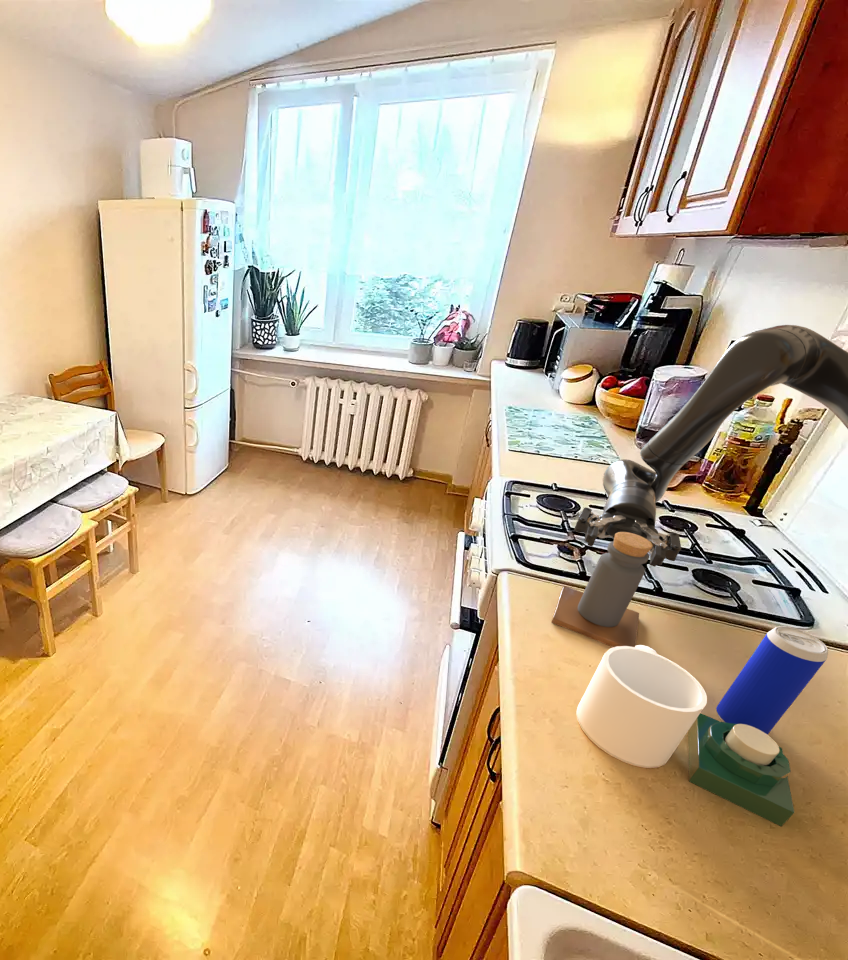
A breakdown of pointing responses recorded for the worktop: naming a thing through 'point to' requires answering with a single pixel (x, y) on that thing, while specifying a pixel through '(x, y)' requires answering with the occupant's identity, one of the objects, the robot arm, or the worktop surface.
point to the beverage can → (772, 678)
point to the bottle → (615, 579)
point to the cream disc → (752, 744)
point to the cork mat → (574, 621)
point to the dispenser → (738, 772)
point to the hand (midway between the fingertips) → (622, 551)
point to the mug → (639, 705)
